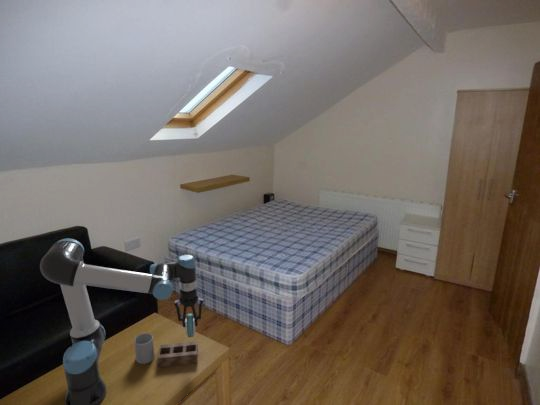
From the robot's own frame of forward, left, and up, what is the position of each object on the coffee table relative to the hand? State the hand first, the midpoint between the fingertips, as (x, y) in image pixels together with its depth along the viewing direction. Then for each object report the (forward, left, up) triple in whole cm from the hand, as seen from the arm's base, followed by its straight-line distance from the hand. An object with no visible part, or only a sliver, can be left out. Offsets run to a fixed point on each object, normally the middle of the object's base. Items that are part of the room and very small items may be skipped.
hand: (190, 331), depth 160 cm
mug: (-22, +4, -15) cm, 27 cm away
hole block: (-6, 0, -14) cm, 16 cm away
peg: (0, 0, -2) cm, 2 cm away
